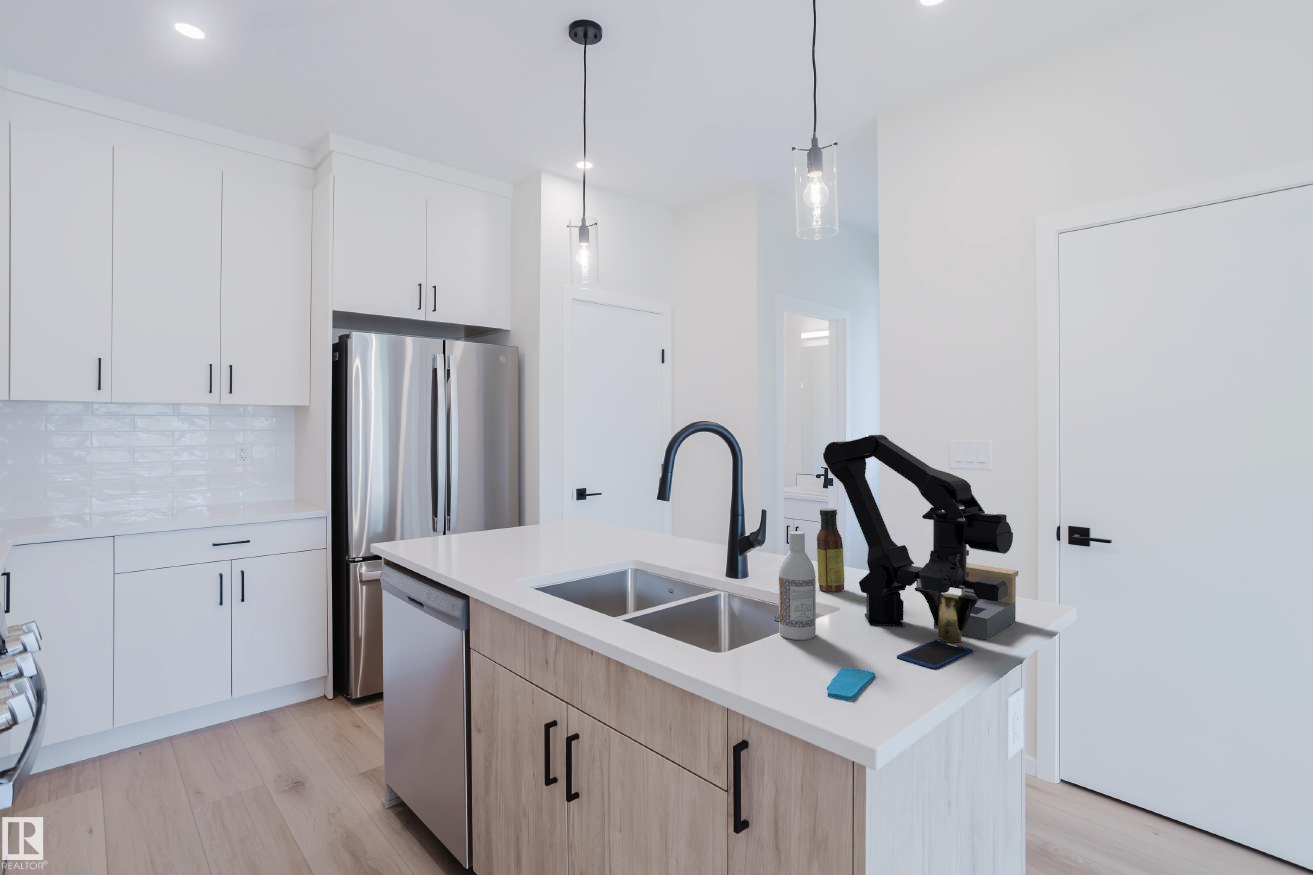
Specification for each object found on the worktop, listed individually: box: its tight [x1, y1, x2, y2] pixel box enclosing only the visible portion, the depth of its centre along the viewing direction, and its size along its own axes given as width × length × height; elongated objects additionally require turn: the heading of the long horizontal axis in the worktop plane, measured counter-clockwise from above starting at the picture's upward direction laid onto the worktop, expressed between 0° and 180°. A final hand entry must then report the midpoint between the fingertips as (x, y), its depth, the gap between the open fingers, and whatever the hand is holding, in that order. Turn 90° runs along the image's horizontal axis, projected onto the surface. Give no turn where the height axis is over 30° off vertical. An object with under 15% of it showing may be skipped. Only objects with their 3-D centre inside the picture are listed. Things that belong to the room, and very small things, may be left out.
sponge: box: [826, 666, 876, 702], centre depth 103 cm, size 2×12×6 cm
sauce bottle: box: [816, 507, 845, 593], centre depth 159 cm, size 6×6×20 cm
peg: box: [937, 592, 962, 643], centre depth 122 cm, size 4×4×8 cm
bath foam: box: [778, 530, 817, 641], centre depth 126 cm, size 7×7×20 cm
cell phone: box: [896, 639, 974, 671], centre depth 115 cm, size 7×14×1 cm, turn 129°
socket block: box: [933, 562, 1019, 641], centre depth 132 cm, size 16×11×10 cm
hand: (949, 627), depth 123 cm, fingers closed on peg, 4 cm apart
